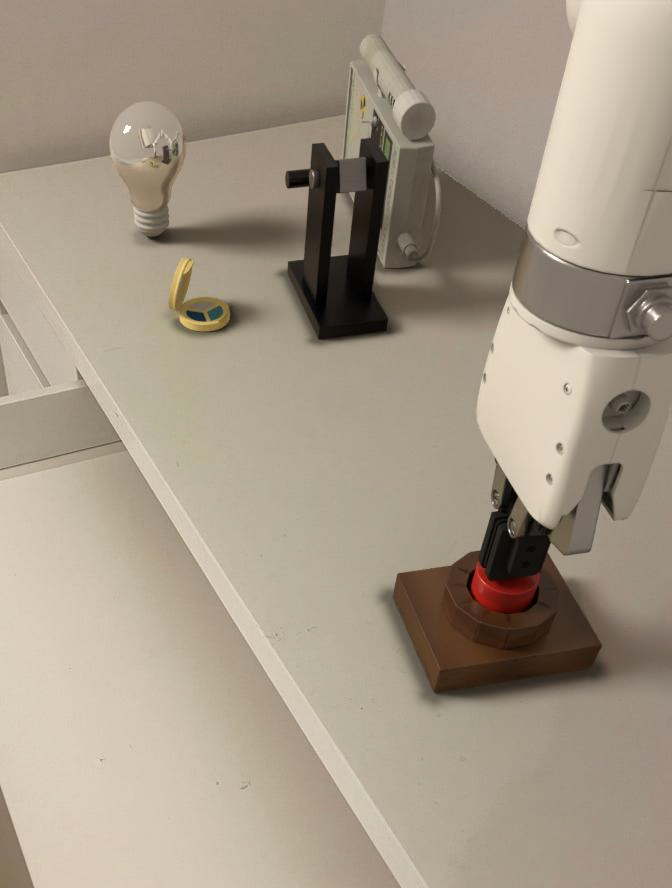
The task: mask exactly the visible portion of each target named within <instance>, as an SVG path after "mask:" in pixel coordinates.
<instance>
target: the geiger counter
mask: <svg viewBox="0 0 672 888" xmlns="http://www.w3.org/2000/svg"><path fill="white" fill-rule="evenodd" d="M359 55H360V57H361V58H360V59H355V60H350V61H349V71H348V82H347V83H348V84H347V93H346V103H345V104H346V106H345V116H344V126H343V136H342V137H343V138H342V149H341V159H350V158H359V151H360V141H361V139H365V138H373V139H374V141H375V142H376V143H377V145H378V146H379V148H380V149H381V150H382V152H383V153H384V155H385V156H386V158H387V159H388V160H389V167H388V175H387V182H386V190H385V198H384V205H383V213H382V221H381V228H380V236H379V243H378V251H377V257H378V258H379V260H380V263H381V265H382V267H383V268H384V269H403V268H408V267H413V266H416V265H417V262H420V261H423V260H425V259H426V258H427V257H428V256H429V255H430V254H431V252H432V250H433V248H434V247H433V246H434V244H435V240H436V237H437V235H438V232H439V231H438V230H439V225H440V219H441V211H442V188H441V187H442V186H441V180H440V175H439V173H438V169H437V166H436V164H435V160H434V152H435V146H436V145H435V143H434V141H433V140H432V138H431V136H430V132H431V131H432V130H433V128H434V126H435V123H436V118H437V113H436V110H435V107H434V106H433V105H432V103H431V102H430V100H429V99H428V97H427V96H426V95H425V93H424V92H423V91H422V90H420V89H417V88H416V87H415V85H414V84H413V82H412V81H411V79H410V77H408V75H407V73H406V70H407V66H406V65H405V64H404V63H402V64H401V63H400V61H399V60H397V57H396V56H395V55H394V53H393V52H392V51H391V49H390V47H389V46H388V44H387V43H386V41H385V39H384V38H383V37H382V35H381V34H379V33H370V34H367V35H366V36H365V37H364V38H363V39H362V40H361V42H360V44H359ZM431 174H432V177H433V181H434V186H435V187H434V188H435V212H434V219H433V225H432V231H431V233H430V237H429V240H428V243H427V246H426V248H425V251H424V252H422V253H421V254H420V253H419V248H420V242H421V241H420V240H421V235H422V229H423V222H424V216H425V209H426V204H427V197H428V190H429V186H430V185H429V184H430V178H431ZM349 196H350V198H351V201H352V202H353V203H354V197H355V192H349Z"/></svg>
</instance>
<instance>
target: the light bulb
mask: <svg viewBox="0 0 672 888" xmlns="http://www.w3.org/2000/svg"><path fill="white" fill-rule="evenodd" d="M108 138H109V139H108V150H109V156H110V160H111V162H112V165H113V167H114V170H115V171H116V172H117V174H118V176H119V177H120V178H121V180H122V181H123V183H124V184H125V186H126V188H127V191H128V196H129V199H130V203H131V204H132V205H133V218H134V225H135V227H136V229H137V230H138V231H139V232H140V233H141V234H142V235H143V236H145V237H146V238H148V239H157V238H158V237H159V236H160V235H161V234H162V233H164V232H165V231H166V229H167V228H168V227H169V225H170V213H169V210H170V209H169V206H168V204H169V203H170V201H171V198H172V197H171V196H172V189H173V186H174V184H175V181H176V179H177V177H178V175H179V173H180V171H181V170H182V167H183V165H184V163H185V159H186V153H187V139H186V135H185V131H184V127H183V126H182V123H181V121H180V120H179V118H178V117H177V116H176V115H175V113H174V112H173V111H172V110H170V109H169V108H168V107H166V106H165V105H163V104H161V103H158V102H156V101H151V100H142V101H138V102H137V101H136V102H135V103H132V104H131V105H129V106H127V107H126V108H124V110H122V111H121V112H120V113H119V114H118V116H117V118H116V119H115V120H114V122H113V124H112V126H111V129H110V134H109V137H108Z"/></svg>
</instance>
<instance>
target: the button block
mask: <svg viewBox="0 0 672 888" xmlns="http://www.w3.org/2000/svg"><path fill="white" fill-rule="evenodd" d="M479 554H480V550H475V551H469V552H467V553H465V555H463V556H462V557H461V558H459V559H457V560H456V561H455V562H454V563H452V564H451V565H444V566H438V567H437V566H436V567H430V568H423V569H416V570H412V571H410V570H409V571H403V572H397V574H396V577H395V583H394V588H393V592H392V599H393V601H394V603H395V605H396V608H397V610H398V613H399V615H400V617H401V620H402V623H403V625H404V626H405V630H406V631H407V633H408V634H407V635H408V636H409V638H410V641H411V643H412V645H413V648H414V649H415V652H416V655H417V657H418V659H419V662H420V664H421V666H422V669H423V671H424V673H425V675H426V678H427V680H428V682H429V685H430V687H431V690H432V692H433V693H434V694H436V693H441V692H448V691H456V690H460V689H467V688H474V687H478V686H480V687H481V686H485V685H492V684H498V683H503V682H511V681H517V680H523V679H528V678H530V679H531V678H535V677H542V676H547V675H556V674H559V673H560V674H561V673H566V672H572V671H579V670H584V669H585V670H586V669H591V668H593V666H594V664H595V662H596V660H597V657H598V655H599V653H600V651H601V649H602V647H603V643H602V641H601V640H600V638H599V636H598V635H597V633H596V631H595V630H594V628H593V626H592V624H591V622H590V621H589V620H588V618H587V615H586V614H585V613H584V611H583V609H582V608H581V606H580V604H579V602H578V601H577V599H576V597H575V595H574V594H573V593H572V591H571V589H570V587H569V585H568V584H567V582H566V581H565V579H564V578H563V575H562V574H561V572H560V571H559V569H558V567H557V566H556V564H555V562H554V560H553V558H552V557H551V555H550V553H549V551H548V552H547V555H546V558H545V561H544V563H543V566H542V569H541V571H540V572H539V575H540V578H539V582H538V585H537V588H536V591H535V593H534V596H533V599H532V602H531V603H530V605H529V606H528V607H527V608H526V609H524V610H522V611H520V612H517V613H513V614H504V613H499V612H495V611H491V610H488V609H486V608H485V607H484V606H482V605H481V604H479V603H478V602H477V601H476V600H475V598H474V597H473V595H472V591H471V584H472V580H473V577H474V573H475V570H476V566H477V563H478V557H479Z"/></svg>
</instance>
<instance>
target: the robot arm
mask: <svg viewBox="0 0 672 888" xmlns="http://www.w3.org/2000/svg"><path fill="white" fill-rule="evenodd" d="M565 11H566V18H567V23H568V28H569V31H570V32H571V35H572V40H571V44H570V48H569V52H568V57H567V60H566V63H565V68H564V72H563V75H562V80H561V84H560V88H559V91H558V97H557V100H556V104H555V108H554V112H553V116H552V118H551V119H552V120H551V123H550V127H549V132H548V136H547V140H546V143H545V148H544V152H543V156H542V160H541V164H540V167H539V168H540V169H539V171H538V176H537V180H536V183H535V187H534V192H533V195H532V200H531V204H530V207H529V211H528V215H527V219H526V223H525V226H524V230H523V235H522V239H521V243H520V247H519V251H518V255H517V259H516V262H515V267H514V269H513V275H512V279H511V282H510V287H509V290H508V291H509V292H508V295H507V297H506V301H505V303H504V305H503V309H502V311H501V314H500V317H499V320H498V323H497V326H496V329H495V332H494V336H493V339H492V342H491V346H490V349H489V352H488V355H487V358H486V360H485V361H486V362H485V365H484V369H483V373H482V377H481V382H480V386H479V391H478V396H477V401H476V402H477V403H476V408H475V418H476V421H477V427H478V428H479V431H480V433H481V436H482V437H483V439H484V441H485V443H486V445H487V446H488V448H489V450H490V451H491V453H492V455H493V457H494V463H495V464H496V465H495V468H494V469H495V470H494V475H493V481H492V485H491V491H490V502H491V506H492V507H493V508H494V509H495V510H496V511H491V513H490V516H489V519H488V522H487V526H486V529H485V533H484V537H483V540H482V544H481V547H480V550H479V551H480V554H479V557H478V561H479V563H480V565H481V567H482V568H485V574H486V576H487V578H488V580H489V581H498V580H505V579H512V578H519V577H526V576H532V575H536V574H538V573H539V572H540V571H541V569H542V566H543V563H544V561H545V558H546V555H547V552H548V553H549V549H550V546H551V544H552V545H553V547H555V549H556V550H558V551H559V552H560V553H561V555H563V556H564V557H566V556H574V555H580V554H581V555H582V554H588V553H590V552H591V551H592V549H593V543H594V539H595V534H596V530H597V524H598V520H599V515H600V509H601V506H603V507H604V509H605V510H606V512H607V514H608V515H609V516H610V518H611V520H612V521H614V522H616V521H623V520H627V519H628V518H629V517H630V516H631V515H632V513H633V512H634V510H635V508H636V506H637V504H638V503H639V500H640V497H641V495H642V493H643V490H644V487H645V486H646V482H647V480H648V478H649V475H650V472H651V469H652V467H653V463H654V461H655V458H656V455H657V452H658V450H659V446H660V443H661V441H662V438H663V434H664V431H665V427H666V425H667V421H668V418H669V414H670V411H671V407H672V0H565Z"/></svg>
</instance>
